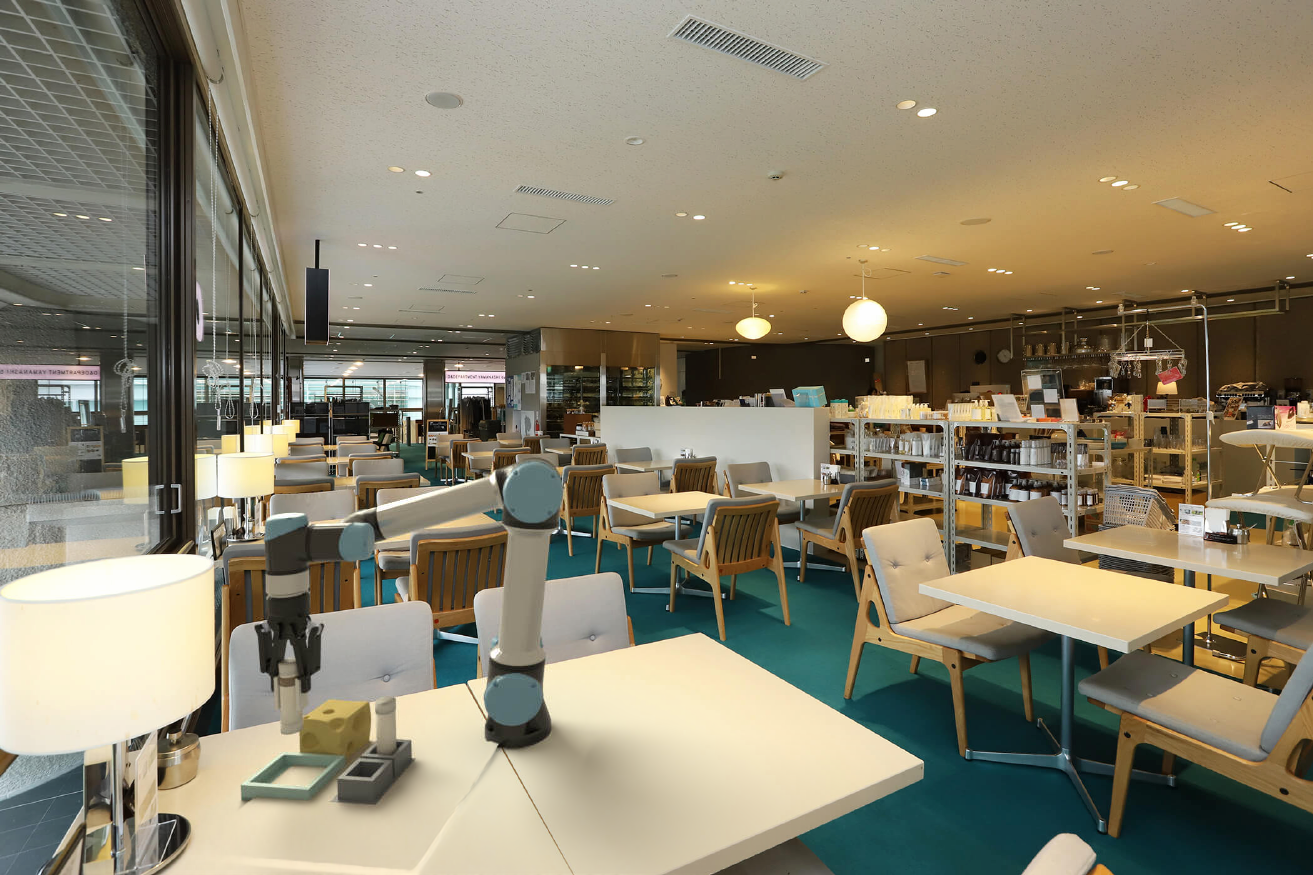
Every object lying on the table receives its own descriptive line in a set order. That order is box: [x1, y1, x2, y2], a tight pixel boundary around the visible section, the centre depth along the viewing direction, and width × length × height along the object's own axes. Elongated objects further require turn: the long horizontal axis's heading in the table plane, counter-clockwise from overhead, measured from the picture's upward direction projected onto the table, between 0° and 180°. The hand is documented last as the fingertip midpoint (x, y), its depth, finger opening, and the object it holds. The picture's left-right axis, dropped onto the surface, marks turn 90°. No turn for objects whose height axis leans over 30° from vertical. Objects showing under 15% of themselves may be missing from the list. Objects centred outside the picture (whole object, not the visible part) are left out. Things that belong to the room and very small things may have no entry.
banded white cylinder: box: [279, 656, 304, 736], centre depth 131 cm, size 4×4×14 cm
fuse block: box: [330, 696, 416, 806], centre depth 132 cm, size 9×16×15 cm, turn 173°
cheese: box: [298, 698, 372, 762], centre depth 143 cm, size 10×11×10 cm
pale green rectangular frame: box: [240, 751, 346, 801], centre depth 132 cm, size 14×12×3 cm
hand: (291, 706), depth 131 cm, fingers closed on banded white cylinder, 4 cm apart
